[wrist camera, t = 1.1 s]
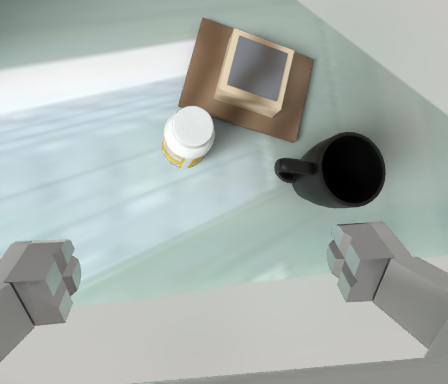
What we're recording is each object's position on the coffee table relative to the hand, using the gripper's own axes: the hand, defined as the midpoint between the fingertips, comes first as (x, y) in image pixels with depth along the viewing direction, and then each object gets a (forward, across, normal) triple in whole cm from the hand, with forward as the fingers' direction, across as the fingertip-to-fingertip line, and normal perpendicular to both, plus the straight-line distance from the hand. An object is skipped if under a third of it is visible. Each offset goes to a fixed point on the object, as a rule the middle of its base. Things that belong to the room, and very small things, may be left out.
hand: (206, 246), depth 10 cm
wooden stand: (+35, -7, +4) cm, 36 cm away
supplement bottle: (+29, +2, +10) cm, 31 cm away
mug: (+28, -13, +15) cm, 35 cm away
